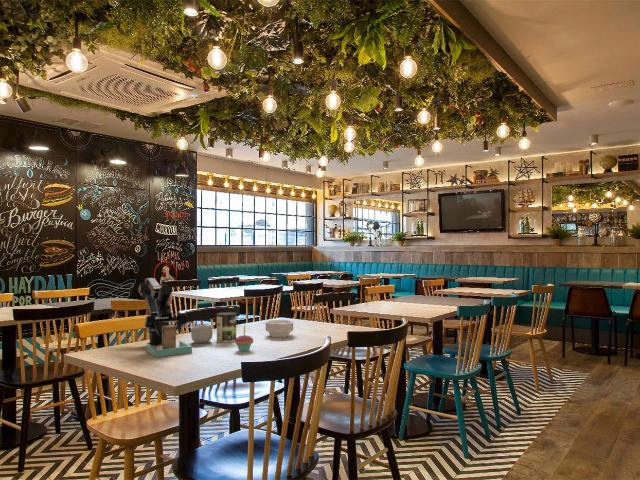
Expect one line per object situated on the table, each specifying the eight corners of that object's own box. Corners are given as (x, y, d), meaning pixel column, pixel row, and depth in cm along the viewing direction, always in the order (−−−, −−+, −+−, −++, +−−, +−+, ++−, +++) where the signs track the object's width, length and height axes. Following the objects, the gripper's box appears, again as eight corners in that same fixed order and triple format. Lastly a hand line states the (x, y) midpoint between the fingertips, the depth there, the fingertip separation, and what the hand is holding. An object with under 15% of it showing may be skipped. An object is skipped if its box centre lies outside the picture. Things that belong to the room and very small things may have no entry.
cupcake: (236, 348, 227) (235, 323, 227) (253, 348, 228) (253, 323, 228) (234, 352, 218) (234, 326, 219) (252, 352, 219) (252, 326, 219)
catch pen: (146, 351, 223) (146, 344, 223) (181, 346, 232) (181, 340, 232) (155, 357, 210) (155, 350, 210) (192, 352, 219) (191, 346, 219)
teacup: (206, 344, 237) (206, 328, 237) (186, 344, 239) (186, 328, 239) (218, 339, 251) (218, 324, 251) (199, 338, 253) (199, 323, 253)
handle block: (161, 351, 222) (161, 325, 222) (172, 350, 225) (172, 324, 225) (165, 353, 218) (164, 327, 218) (175, 352, 221) (175, 326, 221)
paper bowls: (298, 335, 262) (298, 320, 262) (282, 339, 249) (282, 324, 249) (276, 332, 270) (276, 318, 270) (259, 336, 257) (259, 322, 258)
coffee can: (240, 339, 252) (240, 312, 252) (230, 342, 242) (230, 315, 242) (223, 338, 255) (222, 311, 255) (212, 341, 245) (212, 314, 245)
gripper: (179, 316, 240) (185, 342, 230) (140, 320, 229) (145, 347, 220) (183, 302, 233) (191, 328, 224) (144, 305, 223) (150, 332, 213)
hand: (169, 334), depth 220 cm, fingers open, 9 cm apart
